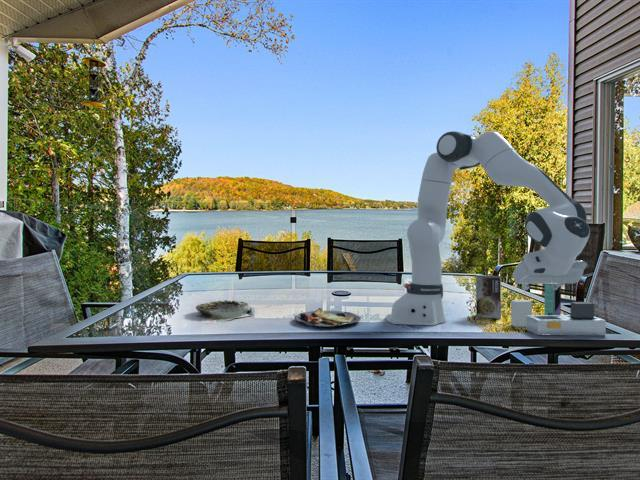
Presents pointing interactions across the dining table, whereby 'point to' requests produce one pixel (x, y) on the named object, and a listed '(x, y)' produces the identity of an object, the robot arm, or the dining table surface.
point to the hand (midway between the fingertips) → (539, 288)
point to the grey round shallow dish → (224, 310)
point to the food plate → (327, 318)
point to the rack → (568, 322)
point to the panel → (520, 312)
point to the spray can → (552, 301)
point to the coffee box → (488, 296)
